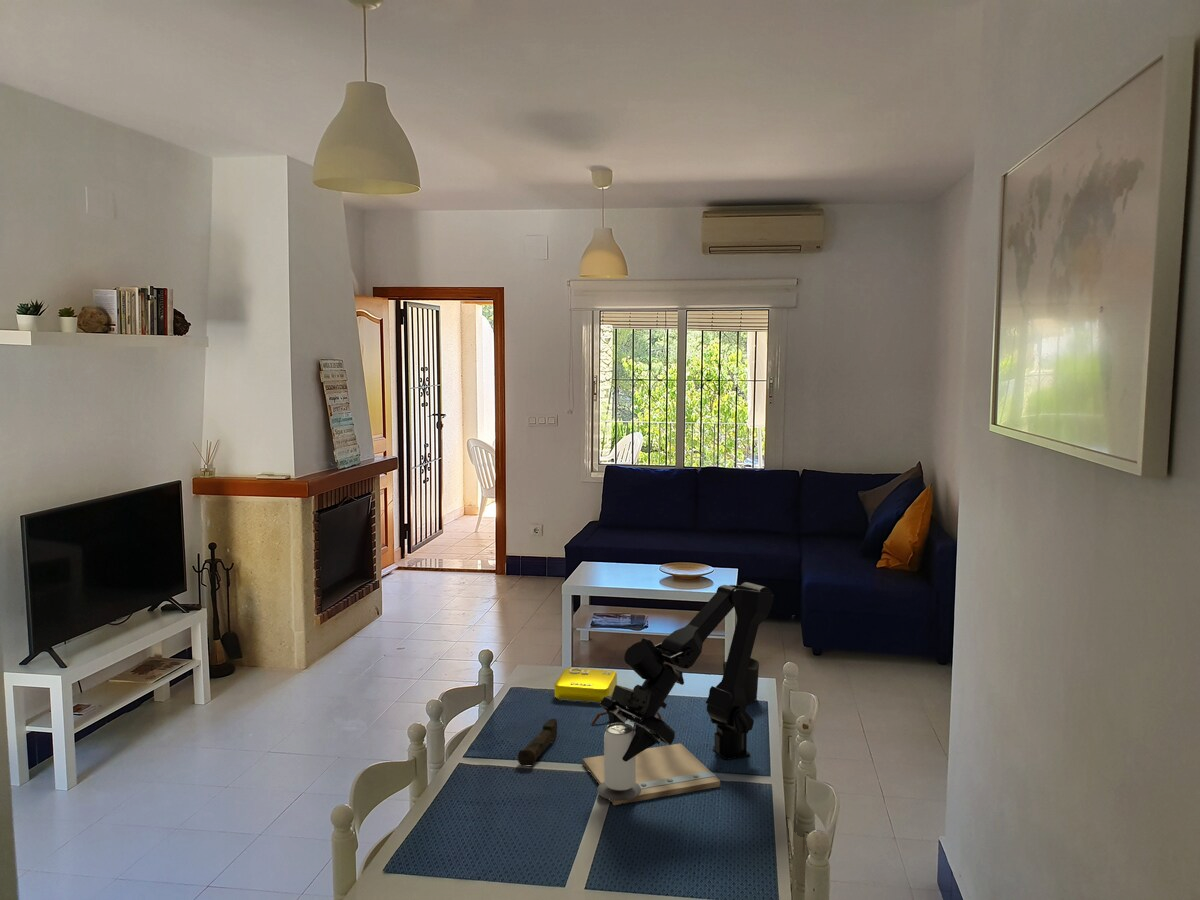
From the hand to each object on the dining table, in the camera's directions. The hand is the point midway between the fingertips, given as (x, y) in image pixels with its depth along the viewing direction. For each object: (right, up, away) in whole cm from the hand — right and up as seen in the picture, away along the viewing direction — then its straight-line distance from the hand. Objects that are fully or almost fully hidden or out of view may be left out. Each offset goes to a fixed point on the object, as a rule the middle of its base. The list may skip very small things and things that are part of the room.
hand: (614, 755), depth 181 cm
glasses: (+4, -6, +36) cm, 37 cm away
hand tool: (-17, -7, +24) cm, 30 cm away
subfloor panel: (+7, -8, +10) cm, 15 cm away
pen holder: (+35, -4, +55) cm, 65 cm away
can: (+1, -7, +2) cm, 7 cm away
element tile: (-7, -4, +60) cm, 61 cm away
